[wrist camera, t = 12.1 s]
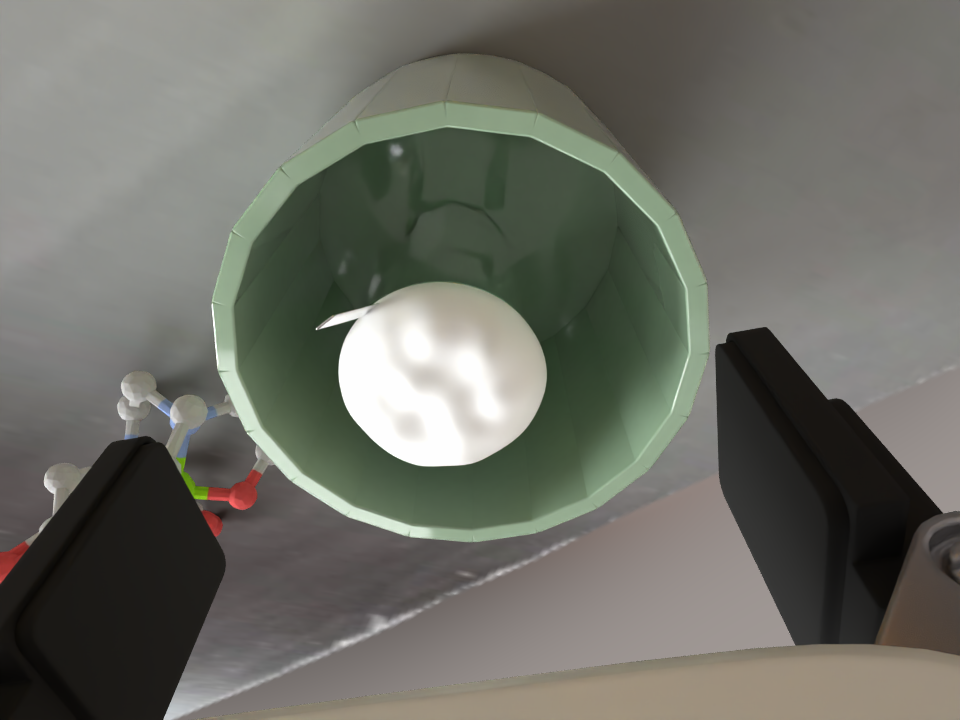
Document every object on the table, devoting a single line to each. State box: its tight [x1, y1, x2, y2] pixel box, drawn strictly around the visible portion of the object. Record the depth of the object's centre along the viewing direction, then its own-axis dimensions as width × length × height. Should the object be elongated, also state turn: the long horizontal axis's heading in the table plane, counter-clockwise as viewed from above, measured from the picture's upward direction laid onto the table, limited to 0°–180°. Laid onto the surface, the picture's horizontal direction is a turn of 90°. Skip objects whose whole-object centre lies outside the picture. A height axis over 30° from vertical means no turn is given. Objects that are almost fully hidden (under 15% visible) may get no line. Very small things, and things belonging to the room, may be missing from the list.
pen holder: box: [211, 53, 710, 542], centre depth 18 cm, size 10×10×9 cm
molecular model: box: [0, 371, 274, 584], centre depth 23 cm, size 7×8×7 cm
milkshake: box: [316, 202, 547, 466], centre depth 17 cm, size 4×5×10 cm
